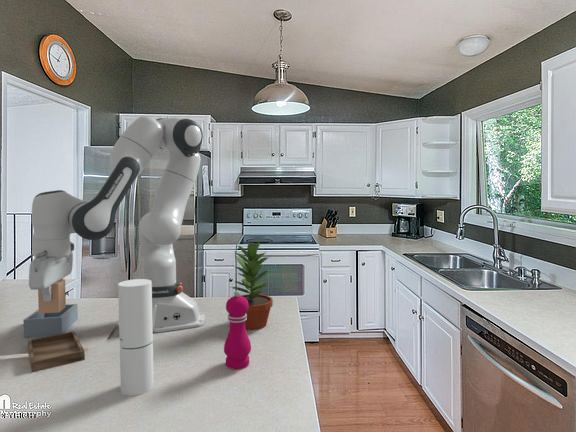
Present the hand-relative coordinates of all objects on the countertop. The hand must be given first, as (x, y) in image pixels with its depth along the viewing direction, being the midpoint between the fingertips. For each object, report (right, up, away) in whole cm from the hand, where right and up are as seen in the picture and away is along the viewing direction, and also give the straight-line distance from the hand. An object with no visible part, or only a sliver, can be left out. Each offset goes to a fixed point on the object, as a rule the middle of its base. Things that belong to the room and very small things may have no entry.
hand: (52, 297), depth 103 cm
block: (0, -4, 0) cm, 4 cm away
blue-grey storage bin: (-12, -15, +19) cm, 27 cm away
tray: (0, -16, +1) cm, 16 cm away
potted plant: (+53, -15, +25) cm, 61 cm away
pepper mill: (+53, -17, -5) cm, 55 cm away
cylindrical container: (+31, -18, -17) cm, 39 cm away
